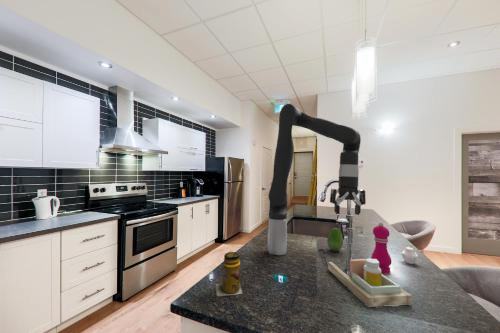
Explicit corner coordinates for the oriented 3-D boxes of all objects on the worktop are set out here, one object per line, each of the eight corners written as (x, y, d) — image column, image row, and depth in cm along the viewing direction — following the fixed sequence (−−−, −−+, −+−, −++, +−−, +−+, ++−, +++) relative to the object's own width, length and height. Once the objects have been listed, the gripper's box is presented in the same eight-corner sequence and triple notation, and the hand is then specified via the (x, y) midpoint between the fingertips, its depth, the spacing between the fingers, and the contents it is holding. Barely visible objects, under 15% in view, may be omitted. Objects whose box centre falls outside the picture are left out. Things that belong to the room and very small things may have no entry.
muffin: (402, 263, 94) (402, 248, 94) (400, 258, 99) (400, 244, 100) (420, 266, 91) (419, 250, 91) (416, 261, 96) (416, 246, 97)
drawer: (371, 303, 64) (371, 274, 64) (350, 284, 75) (350, 259, 75) (400, 302, 65) (400, 273, 66) (375, 283, 76) (375, 258, 76)
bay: (368, 307, 62) (368, 297, 62) (328, 269, 87) (328, 262, 87) (411, 305, 64) (411, 295, 64) (359, 268, 89) (359, 260, 89)
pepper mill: (388, 267, 89) (388, 221, 90) (394, 275, 83) (393, 225, 83) (369, 265, 92) (369, 219, 92) (373, 272, 85) (373, 223, 86)
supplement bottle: (360, 284, 74) (360, 257, 74) (374, 284, 74) (374, 257, 74) (370, 293, 68) (369, 264, 69) (385, 293, 69) (385, 263, 69)
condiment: (242, 294, 69) (243, 257, 69) (217, 297, 67) (217, 259, 67) (238, 282, 76) (239, 249, 76) (215, 285, 74) (216, 251, 74)
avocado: (345, 253, 105) (345, 229, 105) (330, 253, 105) (330, 229, 106) (339, 247, 113) (339, 225, 113) (324, 247, 113) (324, 225, 114)
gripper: (359, 176, 92) (358, 212, 91) (328, 174, 91) (326, 212, 90) (370, 176, 84) (369, 216, 84) (336, 175, 83) (335, 215, 83)
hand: (347, 214), depth 87 cm, fingers open, 8 cm apart
